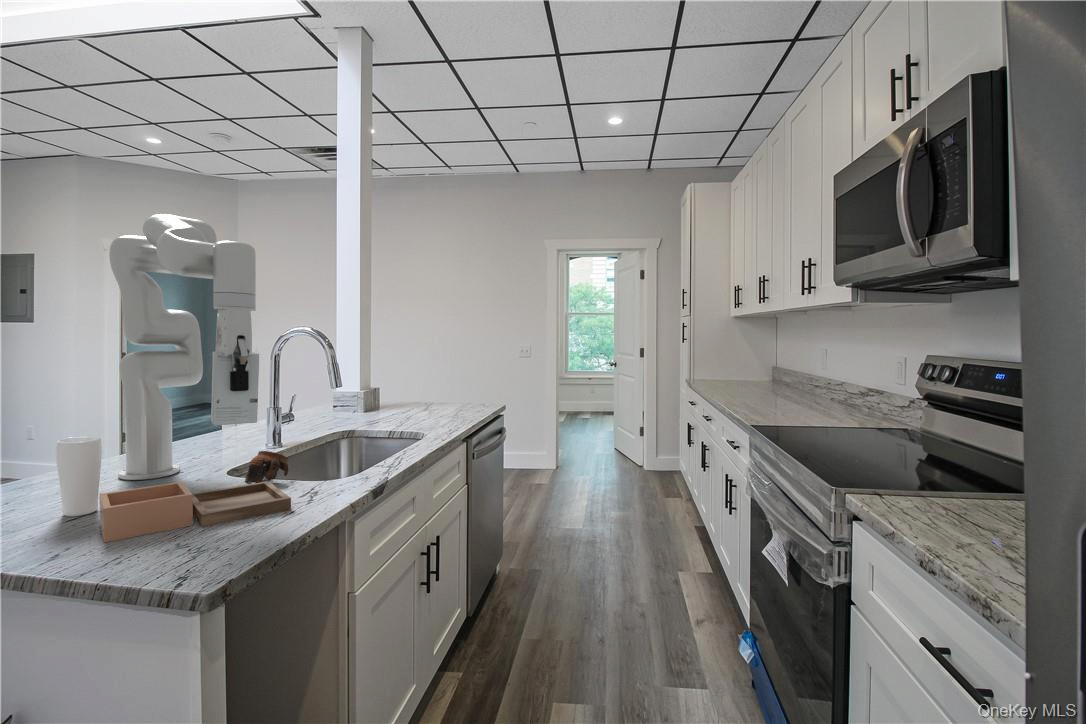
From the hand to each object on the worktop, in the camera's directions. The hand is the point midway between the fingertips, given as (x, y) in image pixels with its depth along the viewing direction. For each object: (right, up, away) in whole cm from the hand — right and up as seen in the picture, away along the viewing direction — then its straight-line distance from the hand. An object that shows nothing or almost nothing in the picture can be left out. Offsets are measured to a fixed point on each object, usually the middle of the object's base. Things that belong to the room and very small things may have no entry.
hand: (235, 388), depth 108 cm
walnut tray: (0, -25, +2) cm, 25 cm away
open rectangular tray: (-12, -26, -9) cm, 30 cm away
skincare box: (0, -7, 0) cm, 7 cm away
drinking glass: (-29, -25, -4) cm, 39 cm away
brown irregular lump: (-5, -25, +23) cm, 34 cm away
